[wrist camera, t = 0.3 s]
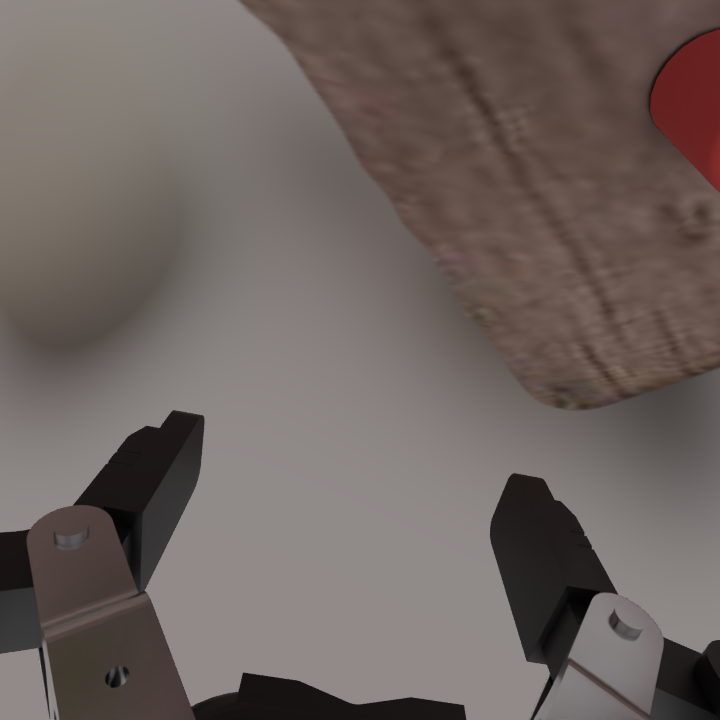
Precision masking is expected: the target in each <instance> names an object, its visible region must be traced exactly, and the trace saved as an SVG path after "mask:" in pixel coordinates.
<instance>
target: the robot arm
mask: <svg viewBox="0 0 720 720" xmlns="http://www.w3.org/2000/svg"><path fill="white" fill-rule="evenodd" d="M203 434H204V416H203V415H197V414H192V413H186V412H181V411H175V410H173V411H172V412H171V413H170V414H169V416H168V417H167V419H166V420H165V421H164V423H163V424H162V425H161V427H160V428H156V427H150V426H146V427H144V428H142V429H140V430H138V431H137V432H135V433H133V434H131V435H130V436H128V437H127V439H126V440H125V441H124V442H123V444H122V445H121V446H120V447H119V449H118V451H117V453H115V454H114V455H113V456H112V457H111V459H110V460H109V462H108V464H106V465H105V466H104V467H103V469H102V470H101V471H100V472H99V474H98V475H97V476H96V477H95V479H94V480H93V481H92V482H91V484H90V485H89V486H88V487H87V489H86V490H85V491H84V492H83V494H82V495H81V496H80V497H79V499H78V500H77V501H76V502H75V503H74V505H73V506H69V507H64V508H61V509H57V510H55V511H53V512H50V513H49V514H47V515H45V516H44V517H42V518H41V519H39V520H38V521H37V522H36V523H35V524H34V525H33V526H32V528H31V529H29V530H24V531H16V532H3V533H0V654H1V653H8V652H15V651H21V650H27V649H34V648H37V650H38V657H39V663H40V669H41V676H42V682H43V688H44V694H45V701H46V707H47V714H48V720H466V715H465V709H464V705H459V704H452V703H446V702H439V701H432V700H425V699H418V698H411V697H410V698H403V699H396V700H389V701H382V702H375V703H367V704H360V705H356V704H351V703H348V702H346V701H344V700H342V699H339V698H337V697H335V696H332V695H330V694H328V693H325V692H323V691H321V690H319V689H316V688H314V687H312V686H309V685H307V684H305V683H302V682H300V681H297V680H289V679H283V678H276V677H269V676H263V675H256V674H249V673H243V675H242V679H241V684H240V688H239V692H234V693H228V694H223V695H220V696H216V697H213V698H210V699H207V700H205V701H202V702H200V703H197V704H195V705H194V706H192V707H191V706H190V703H189V700H188V698H187V695H186V692H185V690H184V687H183V684H182V682H181V679H180V676H179V674H178V671H177V668H176V666H175V663H174V660H173V658H172V655H171V652H170V650H169V647H168V644H167V642H166V639H165V636H164V634H163V631H162V628H161V625H160V623H159V620H158V618H157V616H156V612H155V610H154V607H153V604H152V602H151V599H150V597H149V595H148V594H147V593H146V592H145V589H146V587H147V584H148V582H149V580H150V578H151V576H152V574H153V572H154V570H155V568H156V566H157V564H158V562H159V560H160V558H161V556H162V554H163V552H164V550H165V548H166V546H167V544H168V542H169V540H170V538H171V536H172V534H173V532H174V530H175V528H176V526H177V524H178V522H179V520H180V518H181V515H182V514H183V512H184V510H185V507H186V506H187V503H188V501H189V499H190V497H191V495H192V493H193V491H194V489H195V487H196V484H197V480H198V477H199V473H200V467H201V456H202V445H203ZM490 539H491V544H492V547H493V550H494V554H495V557H496V560H497V564H498V567H499V571H500V574H501V577H502V581H503V584H504V587H505V590H506V594H507V597H508V601H509V604H510V607H511V610H512V614H513V617H514V620H515V624H516V627H517V630H518V634H519V637H520V640H521V644H522V647H523V650H524V653H525V657H526V660H527V661H528V662H534V663H540V664H546V665H547V666H548V669H549V672H550V675H549V676H548V678H547V680H546V682H545V683H544V686H543V688H542V690H541V693H540V695H539V697H538V700H537V701H536V704H535V706H534V708H533V711H532V713H531V715H530V717H529V719H528V720H720V640H716V641H712V642H711V643H710V644H709V645H708V646H707V648H706V649H705V651H704V652H703V653H702V654H701V653H699V652H696V651H694V650H692V649H689V648H687V647H685V646H682V645H680V644H678V643H675V642H673V641H671V640H668V639H666V638H664V637H663V635H662V633H661V631H660V629H659V627H658V625H657V624H656V622H655V621H654V620H653V619H652V618H651V616H650V615H649V614H648V613H647V612H646V611H644V610H643V609H642V608H641V607H640V606H638V605H637V604H635V603H634V602H632V601H630V600H629V599H627V598H624V597H622V596H620V595H618V593H617V591H616V590H615V588H614V586H613V584H612V582H611V581H610V579H609V577H608V575H607V573H606V571H605V570H604V568H603V566H602V564H601V562H600V560H599V559H598V557H597V555H596V553H595V551H594V550H592V546H591V544H590V542H589V540H588V538H587V536H584V531H583V529H582V527H581V525H580V524H579V522H578V520H577V518H576V516H575V515H574V514H572V512H571V511H570V510H569V509H568V508H567V507H566V506H565V505H564V504H563V503H562V502H560V501H556V500H554V498H553V496H552V494H551V492H550V490H549V488H548V486H547V484H546V482H545V481H544V480H543V479H542V478H537V477H532V476H527V475H521V474H516V473H514V474H512V475H511V476H510V477H509V479H508V481H507V483H506V486H505V488H504V490H503V493H502V495H501V498H500V500H499V503H498V505H497V508H496V510H495V513H494V515H493V518H492V521H491V527H490Z"/></svg>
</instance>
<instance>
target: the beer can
mask: <svg viewBox="0 0 720 720" xmlns="http://www.w3.org/2000/svg"><path fill="white" fill-rule="evenodd" d="M650 112H651V115H652V118H653V121H654V123H655V125H656V126H657V127H658V128H659V129H660V130H661V131H662V133H663V134H664V135H665V136H666V137H667V138H668V139H669V140H670V141H671V142H672V143H673V144H674V145H675V146H676V147H677V148H678V150H679V151H680V152H681V153H682V154H683V155H684V156H685V157H686V158H687V159H688V160H689V161H690V162H691V163H692V164H693V165H694V167H695V168H696V169H697V170H698V171H699V172H700V173H701V174H702V175H703V176H704V177H705V178H706V179H707V180H708V181H709V183H710V184H712V185H713V186H714V187H715V188H716V189H717V190H718V191H719V192H720V29H719V30H716V31H713V32H710V33H707V34H704V35H701V36H700V37H698V38H696V39H695V40H693V41H692V42H690V43H688V44H687V45H685V46H684V47H682V48H681V49H680V50H679V51H678V52H677V53H676V54H675V55H674V56H673V57H672V58H671V59H670V60H669V61H668V62H667V64H666V65H665V67H664V68H663V70H662V71H661V73H660V75H659V76H658V78H657V80H656V83H655V86H654V89H653V91H652V94H651V106H650Z"/></svg>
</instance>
